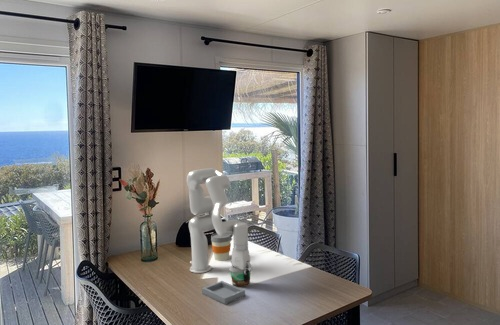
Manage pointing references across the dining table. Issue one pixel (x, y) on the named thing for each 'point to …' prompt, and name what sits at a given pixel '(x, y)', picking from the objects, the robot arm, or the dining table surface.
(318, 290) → the dining table surface
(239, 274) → the food container
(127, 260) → the dining table surface
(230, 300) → the tray
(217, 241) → the reusable coffee cup
